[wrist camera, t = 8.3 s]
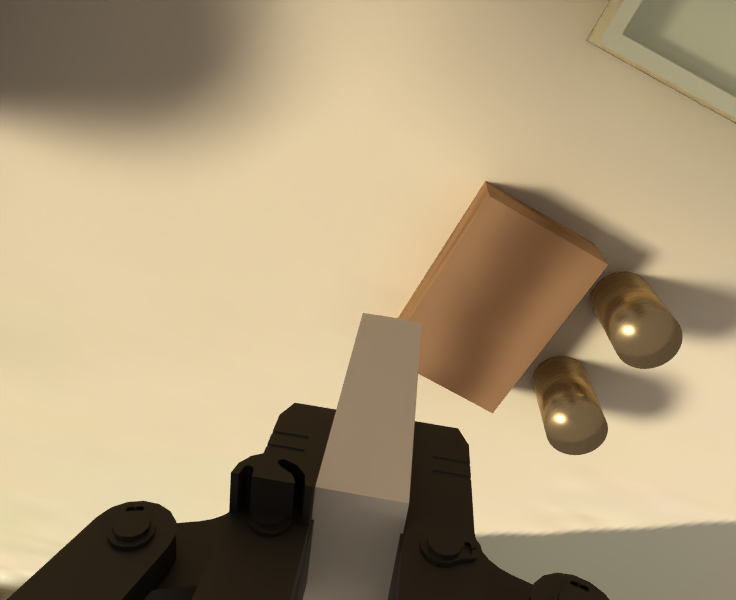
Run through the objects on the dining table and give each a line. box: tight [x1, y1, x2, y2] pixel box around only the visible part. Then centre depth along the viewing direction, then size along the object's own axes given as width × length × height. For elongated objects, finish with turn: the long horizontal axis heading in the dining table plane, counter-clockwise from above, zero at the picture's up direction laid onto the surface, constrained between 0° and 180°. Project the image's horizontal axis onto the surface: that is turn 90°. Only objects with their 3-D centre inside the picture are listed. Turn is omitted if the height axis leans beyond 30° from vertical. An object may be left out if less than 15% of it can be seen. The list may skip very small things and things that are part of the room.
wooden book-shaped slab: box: [398, 181, 608, 413], centre depth 40 cm, size 8×12×4 cm, turn 152°
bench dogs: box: [533, 272, 682, 455], centre depth 39 cm, size 4×11×6 cm, turn 154°
